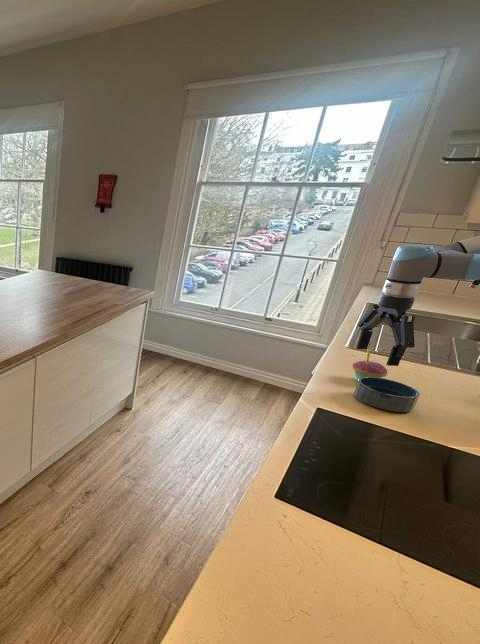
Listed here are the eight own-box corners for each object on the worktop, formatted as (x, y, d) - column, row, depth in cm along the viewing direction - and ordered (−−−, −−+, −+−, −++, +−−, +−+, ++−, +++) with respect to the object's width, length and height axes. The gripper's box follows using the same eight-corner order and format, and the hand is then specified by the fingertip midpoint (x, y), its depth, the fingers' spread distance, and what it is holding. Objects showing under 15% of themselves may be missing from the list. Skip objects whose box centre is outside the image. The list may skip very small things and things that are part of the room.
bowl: (425, 415, 116) (432, 399, 114) (372, 411, 118) (379, 395, 116) (389, 393, 128) (396, 378, 126) (342, 390, 130) (348, 375, 128)
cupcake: (346, 380, 136) (358, 348, 132) (349, 373, 141) (361, 342, 137) (381, 389, 130) (394, 356, 126) (383, 381, 135) (396, 348, 131)
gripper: (356, 285, 137) (338, 342, 144) (417, 305, 114) (392, 372, 122) (381, 285, 135) (362, 343, 143) (449, 306, 113) (421, 373, 120)
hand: (376, 356), depth 132 cm, fingers open, 13 cm apart
